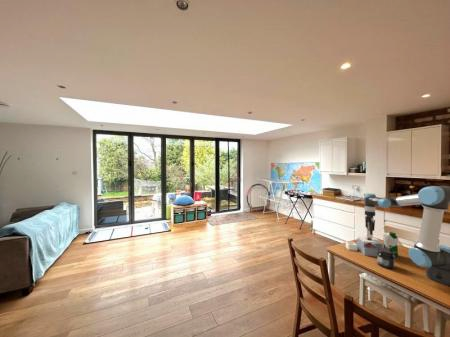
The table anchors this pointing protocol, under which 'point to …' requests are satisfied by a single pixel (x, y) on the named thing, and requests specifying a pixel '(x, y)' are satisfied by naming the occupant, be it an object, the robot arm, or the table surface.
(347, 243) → the holder
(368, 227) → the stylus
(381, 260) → the supplement container
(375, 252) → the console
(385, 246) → the milk carton
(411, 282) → the table surface
